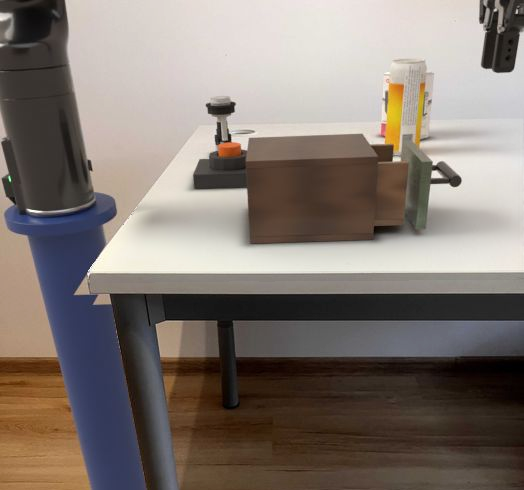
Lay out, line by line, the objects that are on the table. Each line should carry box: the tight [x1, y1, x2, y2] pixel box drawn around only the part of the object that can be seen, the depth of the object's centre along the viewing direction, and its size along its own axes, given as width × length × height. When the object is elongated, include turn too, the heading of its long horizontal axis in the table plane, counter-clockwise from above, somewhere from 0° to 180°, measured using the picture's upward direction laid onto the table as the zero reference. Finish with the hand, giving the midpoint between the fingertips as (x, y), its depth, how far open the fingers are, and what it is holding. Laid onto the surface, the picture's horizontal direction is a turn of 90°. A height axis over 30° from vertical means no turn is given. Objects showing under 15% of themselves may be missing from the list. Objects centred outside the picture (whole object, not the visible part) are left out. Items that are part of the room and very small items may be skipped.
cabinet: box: [246, 133, 378, 245], centre depth 73 cm, size 15×13×10 cm
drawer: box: [369, 140, 463, 230], centre depth 73 cm, size 18×11×8 cm, turn 90°
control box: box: [192, 148, 247, 190], centre depth 94 cm, size 11×10×4 cm
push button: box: [205, 95, 237, 152], centre depth 107 cm, size 7×5×10 cm
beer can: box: [384, 58, 428, 157], centre depth 103 cm, size 6×6×15 cm
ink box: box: [380, 70, 435, 140], centre depth 115 cm, size 9×5×12 cm, turn 42°
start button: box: [218, 141, 242, 157], centre depth 93 cm, size 4×4×2 cm
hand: (496, 69), depth 66 cm, fingers open, 3 cm apart
